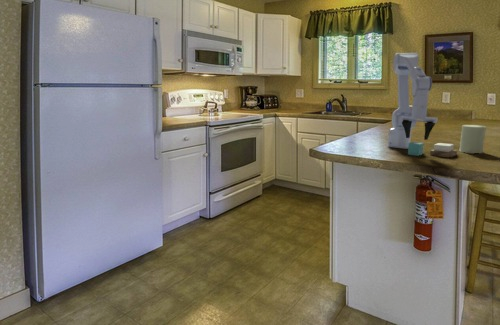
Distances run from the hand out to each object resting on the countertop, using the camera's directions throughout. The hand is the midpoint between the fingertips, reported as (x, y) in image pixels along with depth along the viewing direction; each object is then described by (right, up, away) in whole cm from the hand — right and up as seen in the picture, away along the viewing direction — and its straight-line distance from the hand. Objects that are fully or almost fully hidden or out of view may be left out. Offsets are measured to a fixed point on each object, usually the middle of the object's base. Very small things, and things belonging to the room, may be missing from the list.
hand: (416, 138), depth 157 cm
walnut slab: (+11, -7, 0) cm, 14 cm away
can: (+28, -6, +8) cm, 29 cm away
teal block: (0, -7, +1) cm, 7 cm away
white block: (+11, -5, 0) cm, 12 cm away
